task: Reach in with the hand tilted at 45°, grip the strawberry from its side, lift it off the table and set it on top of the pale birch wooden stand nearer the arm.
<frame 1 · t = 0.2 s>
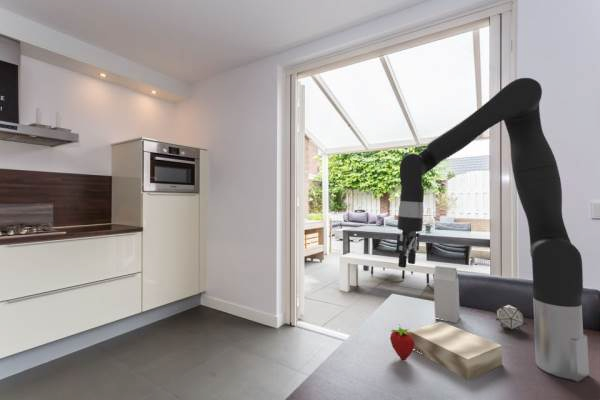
hand: (406, 265, 93), 23 cm above the table, tool pointing down, fingers open, 8 cm apart
milk carton: (447, 318, 106), on the table
birch stand: (453, 355, 80), on the table
strawberry: (402, 361, 78), on the table
game die: (510, 329, 96), on the table
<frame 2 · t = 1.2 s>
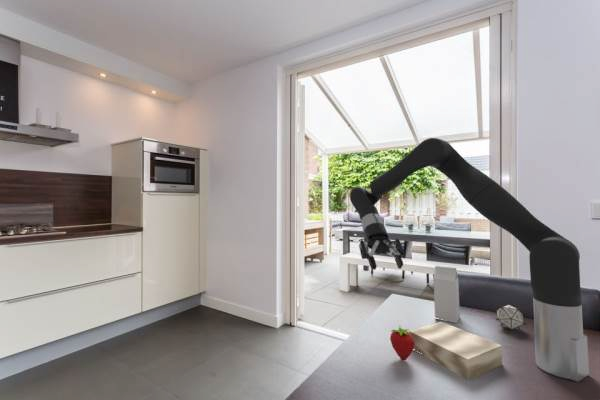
hand: (387, 267, 91), 23 cm above the table, tool tilted 45°, fingers open, 8 cm apart
nothing on the table moved.
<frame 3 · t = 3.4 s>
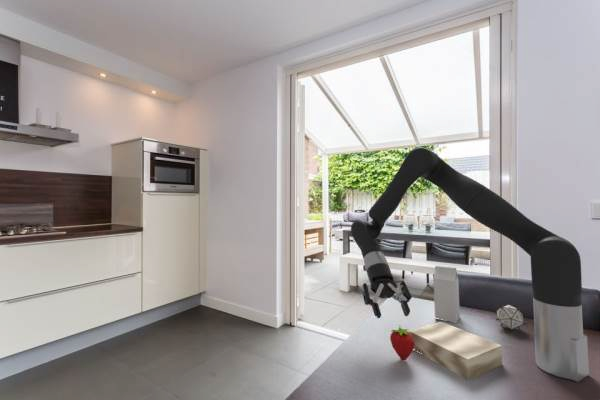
hand: (393, 316, 84), 10 cm above the table, tool tilted 45°, fingers open, 8 cm apart
nothing on the table moved.
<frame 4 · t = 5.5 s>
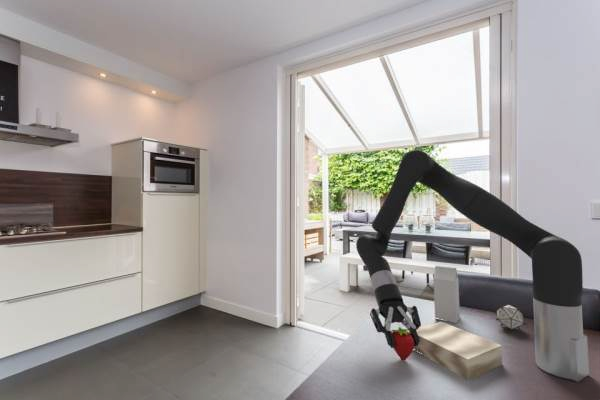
hand: (405, 345, 77), 5 cm above the table, tool tilted 45°, fingers closed on strawberry, 6 cm apart
strawberry: (402, 361, 78), on the table, touching gripper
everything else where it was.
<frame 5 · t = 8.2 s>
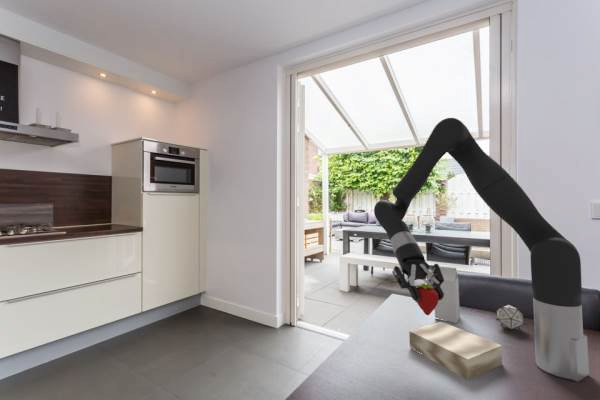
hand: (429, 299, 77), 17 cm above the table, tool tilted 45°, fingers closed on strawberry, 6 cm apart
strawberry: (427, 315, 79), point 12 cm above the table, touching gripper
everything else where it was.
when the fingers open (11 cm above the table, at t = 10.8 s): strawberry drops 1 cm, resting on birch stand.
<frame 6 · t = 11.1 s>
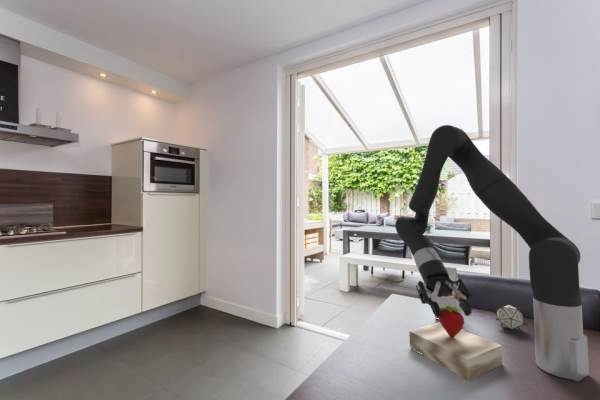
hand: (454, 315, 79), 12 cm above the table, tool tilted 45°, fingers open, 8 cm apart
strawberry: (451, 338, 80), point 5 cm above the table, touching birch stand
everything else where it was.
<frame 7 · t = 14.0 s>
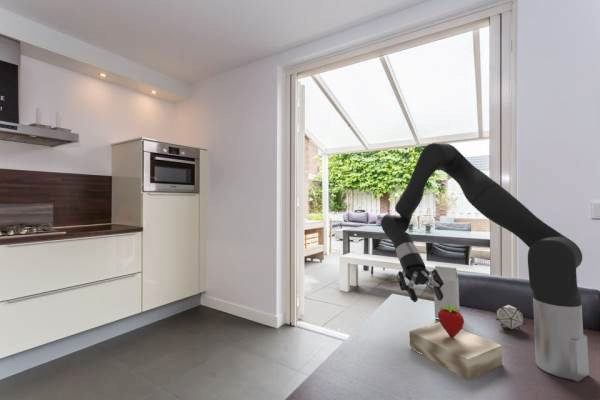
hand: (428, 300, 92), 12 cm above the table, tool tilted 45°, fingers open, 8 cm apart
nothing on the table moved.
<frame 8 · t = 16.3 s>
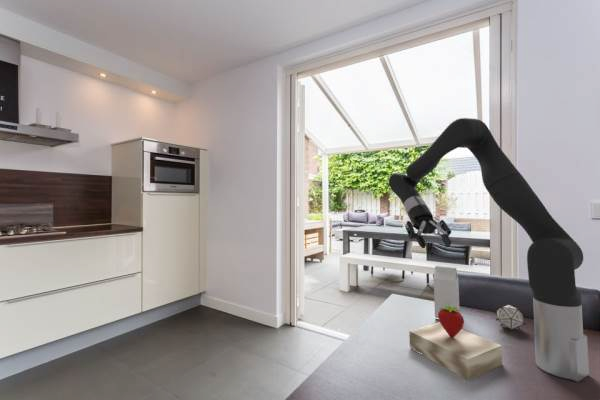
hand: (436, 246, 94), 29 cm above the table, tool tilted 45°, fingers open, 8 cm apart
nothing on the table moved.
at the end: strawberry inside the target area on the birch stand (0.3 cm from its centre), point 4.8 cm above the birch stand's base; the gripper is holding nothing; strawberry tilted 0° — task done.
